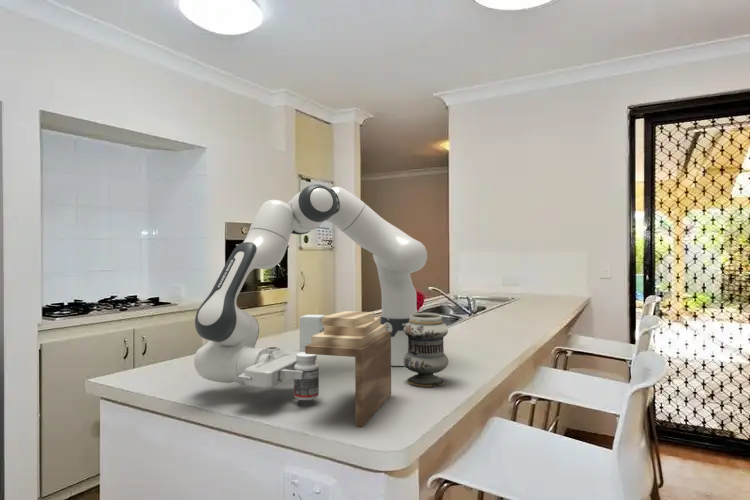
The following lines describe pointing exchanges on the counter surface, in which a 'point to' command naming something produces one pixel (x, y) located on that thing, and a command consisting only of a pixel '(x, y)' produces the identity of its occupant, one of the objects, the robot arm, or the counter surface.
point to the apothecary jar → (425, 349)
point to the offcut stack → (349, 329)
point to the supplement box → (309, 329)
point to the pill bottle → (307, 377)
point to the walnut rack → (366, 373)
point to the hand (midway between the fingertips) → (309, 371)
